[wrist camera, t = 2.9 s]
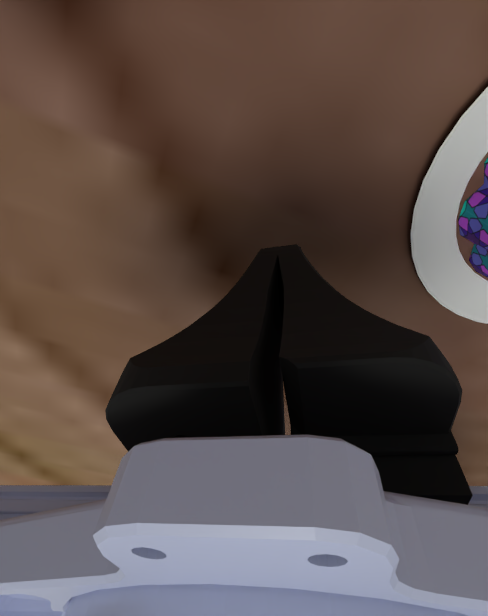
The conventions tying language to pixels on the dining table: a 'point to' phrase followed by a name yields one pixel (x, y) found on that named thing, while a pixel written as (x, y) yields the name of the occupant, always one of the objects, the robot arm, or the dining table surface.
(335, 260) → the dining table surface
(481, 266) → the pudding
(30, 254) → the dining table surface
